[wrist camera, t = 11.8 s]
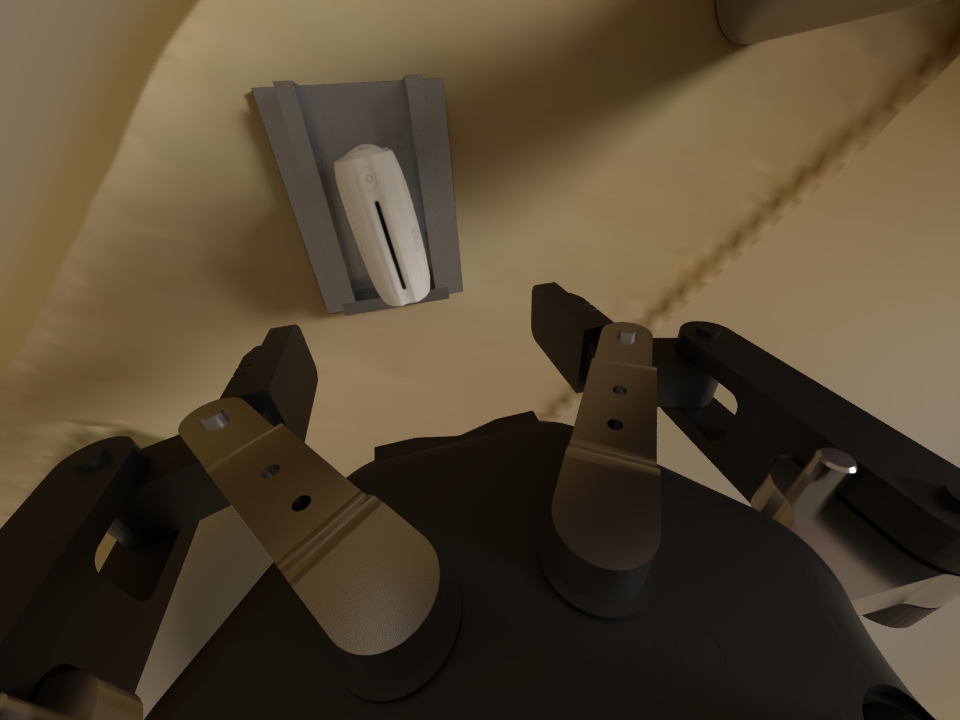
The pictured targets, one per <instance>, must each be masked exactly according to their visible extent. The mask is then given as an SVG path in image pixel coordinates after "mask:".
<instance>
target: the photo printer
mask: <svg viewBox="0 0 960 720" xmlns="http://www.w3.org/2000/svg"><path fill="white" fill-rule="evenodd" d="M334 170H335V177H336V182H337V186H338V190H339V193H340V197H341V200H342V203H343V206H344V209H345V212H346V215H347V218H348V221H349V224H350V226H351V229H352V232H353V235H354V237H355V240H356V243H357V246H358V248H359V251H360V253H361V256H362V258H363V261H364V263H365V266H366V268H367V271H368V273H369V276H370V278H371V280H372V282H373V285H374V287H375V289H376V290H377V292H378V294H379V295H380V297H381V298H382V300H383V301H384V302H385V303H386V304H388V305H390V306H403V305H405V304H408V303H414V302H418V301H420V300H422V299H423V298H424V297H426V296H427V294H428V293H429V291H430V273H429V268H428V263H427V258H426V254H425V249H424V245H423V241H422V237H421V233H420V229H419V225H418V221H417V218H416V214H415V210H414V207H413V203H412V200H411V196H410V193H409V190H408V187H407V184H406V181H405V179H404V176H403V173H402V170H401V168H400V166H399V163H398V161H397V159H396V157H395V155H394V153H393V151H392V150H390V149H388V148H387V147H385V148H380V147H378V146H376V145H372V144H362V145H359V146H357V147H355V148H353V149H352V150H350V151H349V152H348V153H347V154H346V155H345V156H343V157H341V158H340V159H338V160H337V161H335V162H334Z"/></svg>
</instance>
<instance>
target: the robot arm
mask: <svg viewBox="0 0 960 720" xmlns="http://www.w3.org/2000/svg"><path fill="white" fill-rule="evenodd" d="M936 1H940V0H716V9H717V17H718V21H719V24H720V27H721V30H722V31H723V33H724V34H725V36H726V37H727V38H728V39H729V40H730V41H732V42H733V43H736V44H739V45H749V44H754V43H758V42H762V41H767V40H771V39H775V38H780V37H784V36H789V35H794V34H798V33H802V32H806V31H811V30H815V29H819V28H824V27H828V26H832V25H837V24H841V23H845V22H850V21H854V20H858V19H863V18H867V17H871V16H875V15H880V14H884V13H888V12H893V11H897V10H901V9H906V8H910V7H914V6H919V5H923V4H927V3H931V2H936ZM531 328H532V334H533V337H534V339H535V341H536V342H537V343H538V345H539V346H540V347H541V349H542V350H543V351H544V352H545V354H546V355H547V356H548V358H549V359H550V360H551V361H552V363H553V364H554V365H555V367H556V368H557V369H558V370H559V372H560V373H561V374H562V376H563V377H564V378H565V379H566V381H567V382H568V383H569V385H570V386H571V387H572V388H573V390H574V391H575V392H576V393H580V392H583V395H582V399H581V403H580V406H579V410H578V414H577V418H576V421H575V425H574V426H571V425H567V424H563V423H557V422H548V421H539V420H538V419H537V417H536V415H535V414H534V412H533V411H529V412H525V413H520V414H516V415H512V416H508V417H503V418H499V419H495V420H493V421H491V422H489V423H487V424H484V425H482V426H480V427H478V428H476V429H473V430H471V431H469V432H467V433H465V434H462V435H459V436H448V437H422V438H413V439H408V440H404V441H400V442H395V443H391V444H387V445H382V446H378V447H375V460H374V461H372V462H370V463H368V464H366V465H364V466H362V467H361V468H359V469H358V470H356V471H355V472H353V473H352V474H350V475H349V476H348V477H347V478H345V477H344V476H343V475H342V474H341V473H339V472H338V471H337V470H336V469H335V468H334V467H332V466H331V465H330V464H329V463H328V462H327V461H325V460H324V459H323V458H322V457H321V456H320V455H318V454H317V453H316V452H315V451H314V450H312V449H311V448H310V447H309V446H308V445H307V444H305V443H304V442H305V438H306V433H307V429H308V424H309V420H310V415H311V410H312V406H313V401H314V397H315V392H316V387H317V383H318V376H317V370H316V366H315V363H314V361H313V359H312V356H311V354H310V351H309V349H308V346H307V344H306V341H305V339H304V336H303V334H302V332H301V329H300V328H299V326H298V325H296V324H295V325H289V326H283V327H277V328H271V329H270V330H269V332H268V334H267V336H266V338H265V340H264V342H263V343H262V345H261V346H256V347H255V348H253V349H252V350H251V351H250V352H249V353H247V354H246V355H245V356H244V357H243V359H242V361H241V362H240V364H239V366H238V367H239V368H237V369H236V371H235V373H234V377H232V378H231V380H230V382H229V383H228V385H227V387H226V389H225V390H224V392H223V394H222V396H221V397H220V399H218V400H215V401H212V402H209V403H207V404H205V405H203V406H201V407H199V408H197V409H196V410H194V411H193V412H191V413H190V414H189V415H187V416H186V417H185V418H184V419H183V421H182V422H181V423H180V425H179V428H178V433H179V435H176V436H174V437H171V438H169V439H166V440H163V441H161V442H158V443H156V444H153V445H150V446H148V447H145V448H142V449H141V448H140V447H139V446H138V445H137V444H136V443H135V442H134V441H133V439H131V438H130V437H126V436H117V437H111V438H107V439H103V440H100V441H98V442H95V443H93V444H90V445H88V446H86V447H84V448H82V449H80V450H78V451H76V452H74V453H73V454H71V455H70V456H68V457H67V458H65V459H64V460H63V461H61V462H60V463H59V464H58V465H57V466H55V467H54V468H53V469H52V471H51V472H50V473H49V474H48V475H47V476H46V477H45V479H44V480H43V481H42V482H41V483H40V484H39V485H38V487H37V488H36V489H35V490H34V491H33V492H32V493H31V495H30V496H29V497H28V498H27V499H26V500H25V501H24V503H23V504H22V505H21V506H20V507H19V508H18V509H17V511H16V512H15V513H14V514H13V515H12V516H11V517H10V519H9V520H8V521H7V522H6V523H5V524H4V526H3V527H2V528H1V529H0V720H143V704H142V702H141V699H140V697H139V696H138V695H137V694H135V691H136V688H137V685H138V683H139V680H140V677H141V675H142V672H143V670H144V667H145V664H146V661H147V659H148V656H149V654H150V651H151V648H152V646H153V643H154V640H155V638H156V635H157V632H158V630H159V627H160V624H161V622H162V619H163V616H164V614H165V611H166V609H167V606H168V603H169V601H170V598H171V595H172V593H173V590H174V587H175V585H176V582H177V579H178V577H179V574H180V571H181V569H182V566H183V563H184V561H185V558H186V555H187V553H188V550H189V547H190V545H191V542H192V540H193V537H194V534H195V531H196V529H197V526H198V523H199V520H201V519H203V518H205V517H207V516H210V515H212V514H213V513H216V512H218V511H220V510H222V509H224V508H226V507H228V506H230V505H232V506H233V508H234V509H235V510H236V512H237V513H238V515H239V516H240V517H241V519H242V520H243V521H244V523H245V524H246V525H247V526H248V528H249V529H250V531H251V532H252V533H253V535H254V536H255V537H256V539H257V540H258V541H259V543H260V544H261V545H262V546H263V548H264V549H265V551H266V552H267V553H268V555H269V556H270V557H271V558H272V560H273V561H274V562H273V563H272V564H271V566H270V567H269V568H268V569H267V570H266V572H265V573H264V574H263V575H262V576H261V578H260V579H259V580H258V581H257V583H256V584H255V585H254V586H253V587H252V588H251V590H250V591H249V592H248V594H247V595H246V596H245V597H244V598H243V599H242V601H241V602H240V603H239V604H238V605H237V607H236V608H235V609H234V610H233V612H232V613H231V614H230V615H229V616H228V617H227V619H226V620H225V621H224V622H223V624H222V625H221V626H220V627H219V628H218V630H217V631H216V632H215V633H214V634H213V636H212V637H211V638H210V640H208V642H207V643H206V644H205V645H204V647H203V648H202V649H201V650H200V652H198V654H197V655H196V656H195V657H194V659H193V660H192V661H191V662H190V663H189V665H188V666H187V667H186V668H185V669H184V671H183V672H182V673H181V674H180V675H179V677H178V678H177V679H176V680H175V681H174V683H173V684H172V685H171V686H170V688H169V689H168V690H167V691H166V692H165V694H164V695H163V696H162V697H161V698H160V700H159V701H158V702H157V703H156V705H155V706H154V707H153V708H152V710H151V711H150V712H149V714H148V715H147V716H146V717H145V719H144V720H935V719H934V718H933V717H932V716H931V715H930V714H929V713H928V712H927V711H926V710H925V709H924V708H923V707H922V706H921V704H919V702H918V701H917V700H916V699H915V698H914V697H913V696H912V694H911V693H910V692H909V690H908V689H907V688H906V686H905V685H904V684H903V683H902V681H901V680H900V679H899V677H898V676H897V675H896V673H895V672H894V671H893V669H892V668H891V667H890V665H889V664H888V662H887V661H886V660H885V658H884V657H883V655H882V654H881V652H880V651H879V650H878V648H877V646H876V645H875V644H874V642H873V641H872V639H871V637H870V635H869V634H868V632H867V630H866V629H865V627H864V625H863V624H862V622H861V620H860V618H859V617H858V616H861V615H862V616H864V617H866V618H868V619H870V620H872V621H874V622H876V623H879V624H881V625H885V626H888V627H893V628H905V627H909V626H911V625H913V624H914V623H916V622H918V621H919V620H921V619H923V618H924V617H926V616H927V615H929V614H931V613H932V612H934V611H935V610H937V609H939V608H940V607H942V606H944V605H945V604H947V603H948V602H950V601H952V600H953V599H955V598H956V597H958V596H960V468H958V467H956V466H955V465H953V464H951V463H950V462H948V461H947V460H945V459H943V458H942V457H940V456H938V455H937V454H935V453H933V452H932V451H930V450H928V449H927V448H925V447H923V446H922V445H920V444H918V443H917V442H915V441H913V440H912V439H910V438H909V437H907V436H905V435H903V434H902V433H900V432H899V431H897V430H895V429H894V428H892V427H890V426H889V425H887V424H885V423H884V422H882V421H880V420H879V419H877V418H875V417H873V416H872V415H870V414H869V413H867V412H865V411H864V410H862V409H861V408H859V407H857V406H855V405H854V404H852V403H851V402H849V401H847V400H845V399H844V398H842V397H841V396H839V395H837V394H836V393H834V392H832V391H831V390H829V389H827V388H826V387H824V386H822V385H821V384H819V383H817V382H816V381H814V380H813V379H811V378H809V377H807V376H806V375H804V374H802V373H801V372H799V371H798V370H796V369H794V368H792V367H791V366H789V365H787V364H786V363H784V362H783V361H781V360H779V359H778V358H776V357H774V356H773V355H771V354H769V353H768V352H766V351H765V350H763V349H761V348H760V347H758V346H756V345H755V344H753V343H751V342H750V341H748V340H746V339H745V338H743V337H741V336H740V335H738V334H736V333H735V332H733V331H731V330H730V329H728V328H726V327H724V326H721V325H718V324H715V323H710V322H703V321H702V322H701V321H694V322H688V323H685V324H683V325H682V326H681V327H680V330H679V334H678V337H677V338H653V335H652V333H651V332H650V331H649V330H648V329H647V328H645V327H643V326H640V325H637V324H634V323H628V322H615V323H614V322H613V321H612V320H610V319H609V318H608V317H606V316H605V315H604V314H603V313H601V312H600V311H599V310H597V309H596V308H595V307H594V306H593V305H590V303H589V302H587V301H586V300H585V299H584V298H582V297H580V296H577V295H575V294H572V293H568V292H566V291H565V290H564V289H563V288H562V287H560V286H559V285H558V284H557V283H555V282H552V283H546V284H540V285H535V286H534V287H533V289H532V312H531ZM718 383H720V384H722V385H723V386H724V387H725V388H727V389H728V390H729V391H730V392H732V394H733V395H734V396H735V398H736V401H737V404H738V408H737V412H736V414H735V415H734V414H733V413H732V412H730V411H729V410H728V409H727V408H726V407H724V406H723V405H722V404H721V403H720V402H719V401H717V400H716V399H715V398H714V397H713V395H714V393H715V390H716V388H717V386H718ZM657 407H660V408H661V409H662V410H663V411H664V412H665V413H666V414H667V415H668V416H669V417H670V418H671V420H673V422H674V423H675V424H676V425H677V426H678V427H679V428H680V429H681V430H682V431H683V432H684V433H685V434H686V436H687V437H688V438H689V439H690V440H691V441H692V442H693V443H694V444H695V445H696V446H697V447H698V448H699V449H700V450H701V452H702V453H704V455H705V456H706V457H707V458H708V459H709V460H710V461H711V462H712V463H713V464H714V465H715V466H716V467H717V469H719V471H720V472H721V473H722V474H723V475H724V476H725V477H726V478H727V479H728V480H729V481H730V482H731V483H732V485H733V486H734V487H735V488H736V489H737V490H738V491H739V492H740V493H741V494H742V495H743V496H744V497H745V498H746V499H747V500H748V501H749V503H750V504H751V507H749V506H747V505H745V504H743V503H741V502H739V501H736V500H734V499H732V498H730V497H728V496H726V495H723V494H721V493H719V492H717V491H714V490H712V489H710V488H708V487H706V486H704V485H701V484H699V483H697V482H695V481H693V480H691V479H688V478H686V477H684V476H682V475H680V474H678V473H675V472H673V471H671V470H669V469H667V468H665V467H663V466H660V465H658V464H657ZM106 532H107V533H109V534H110V535H112V537H114V538H115V539H116V540H117V541H116V543H115V545H114V546H113V548H112V550H111V552H110V554H109V555H108V557H107V559H106V561H105V563H104V564H103V566H102V568H101V570H100V571H99V573H98V572H97V569H96V567H95V561H94V560H95V553H96V550H97V548H98V546H99V544H100V542H101V541H102V539H103V537H104V536H105V534H106Z"/></svg>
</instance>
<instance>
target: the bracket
mask: <svg viewBox="0 0 960 720" xmlns="http://www.w3.org/2000/svg"><path fill="white" fill-rule="evenodd" d="M273 84H274V87H261V88H251V89H252V91H253V94H254V97H255V100H256V103H257V106H258V109H259V112H260V115H261V118H262V121H263V124H264V127H265V130H266V132H267V135H268V138H269V141H270V144H271V147H272V150H273V153H274V156H275V159H276V162H277V165H278V168H279V171H280V173H281V176H282V179H283V182H284V185H285V188H286V191H287V194H288V197H289V200H290V203H291V206H292V209H293V212H294V214H295V217H296V220H297V223H298V226H299V229H300V232H301V235H302V238H303V241H304V244H305V247H306V250H307V252H308V255H309V258H310V261H311V264H312V267H313V270H314V273H315V276H316V279H317V282H318V285H319V288H320V291H321V293H322V296H323V299H324V302H325V305H326V308H327V311H328V314H329V313H335V312H341V311H344V312H345V315H352V314H358V313H364V312H370V311H376V310H382V309H388V308H394V307H400V306H390V305H388V304H386V303H385V302H384V301H383V300H382V298H381V297H380V295H379V294H378V292H377V290H376V289H375V287H374V285H373V282H372V280H371V278H370V276H369V273H368V271H367V268H366V266H365V263H364V261H363V258H362V256H361V253H360V251H359V248H358V246H357V243H356V240H355V237H354V235H353V232H352V229H351V226H350V224H349V221H348V218H347V215H346V212H345V209H344V206H343V203H342V200H341V197H340V193H339V190H338V186H337V182H336V177H335V170H334V162H335V161H337V160H338V159H340V158H341V157H343V156H345V155H346V154H347V153H348V152H349V151H350V150H352V149H353V148H355V147H357V146H359V145H362V144H372V145H376V146H378V147H380V148H385V147H387V148H388V149H390V150H392V151H393V153H394V155H395V157H396V159H397V161H398V163H399V166H400V168H401V170H402V173H403V176H404V179H405V181H406V184H407V187H408V190H409V193H410V196H411V200H412V203H413V207H414V210H415V214H416V218H417V221H418V225H419V229H420V233H421V237H422V241H423V245H424V249H425V254H426V258H427V263H428V268H429V273H430V291H429V293H428V294H427V296H426V297H424V298H423V299H422V300H420V301H418V302H414V303H408V304H405V305H403V306H406V305H412V304H418V303H424V302H430V301H436V300H442V299H448V298H449V294H450V293H456V292H462V291H463V284H462V274H461V263H460V253H459V242H458V232H457V221H456V211H455V200H454V190H453V179H452V169H451V158H450V148H449V137H448V127H447V117H446V106H445V96H444V85H443V79H422V75H405V76H404V78H403V79H402V81H382V82H362V83H342V84H321V85H301V86H299V85H298V84H296V83H295V82H293V81H274V82H273Z"/></svg>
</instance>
